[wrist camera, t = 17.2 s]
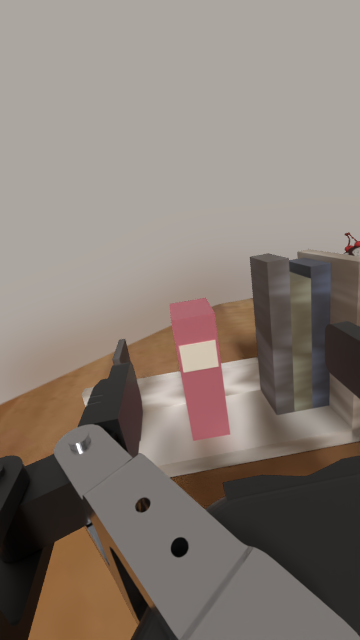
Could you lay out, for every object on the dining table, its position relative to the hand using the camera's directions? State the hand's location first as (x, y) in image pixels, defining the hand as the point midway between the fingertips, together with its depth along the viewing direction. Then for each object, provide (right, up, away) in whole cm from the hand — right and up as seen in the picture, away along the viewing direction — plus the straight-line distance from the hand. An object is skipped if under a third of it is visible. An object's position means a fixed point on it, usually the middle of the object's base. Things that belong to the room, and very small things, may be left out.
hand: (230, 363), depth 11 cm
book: (+1, -8, +17) cm, 19 cm away
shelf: (+1, -10, +17) cm, 20 cm away
